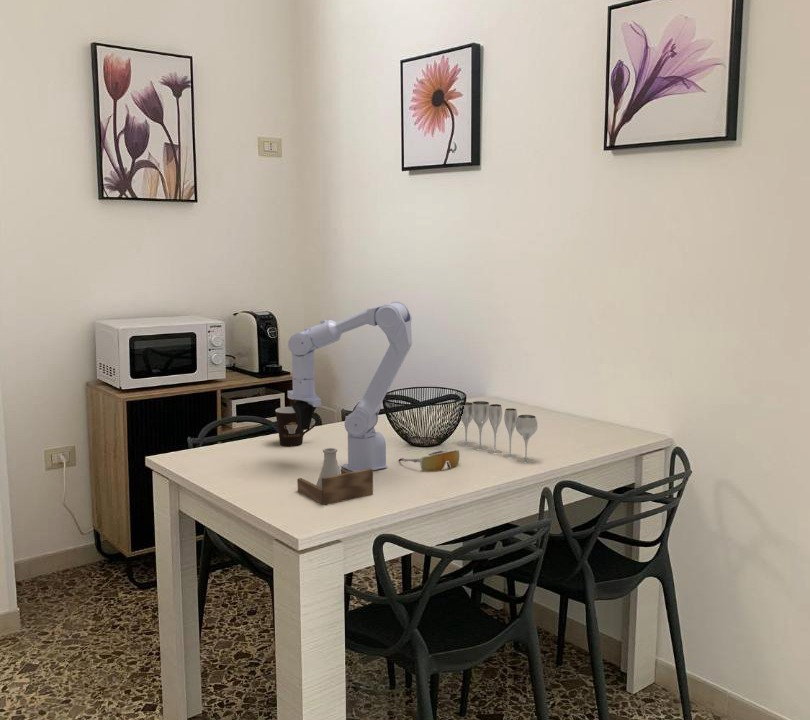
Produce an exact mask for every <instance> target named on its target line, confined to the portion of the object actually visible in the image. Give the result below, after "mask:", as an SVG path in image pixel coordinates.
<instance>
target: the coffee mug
mask: <svg viewBox="0 0 810 720" xmlns="http://www.w3.org/2000/svg"><path fill="white" fill-rule="evenodd" d="M313 416H314V417H316V421H315V423H314V424H313V425H311V427H310V428H309V429H308V430H301V429H300V427H299V424H298V420H297V416H296V414H295V411H294V409H293V408H292V406H285V407H284V406H283V407H278V408H276V409H275V418H276V423H277V424H276V425H277V431H278V439H279V445H280V446H282V447H290V448H291V447H298V446H299V447H300V446H302V445H303V441H304V436H305V434H307V433H308V432H309V431H311V430H312V429H314V428H315V427H316V426H317V425H318V423H319V419H320V418H319V416H318V414H317V413H315V412H314V413H313Z"/></svg>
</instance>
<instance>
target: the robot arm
mask: <svg viewBox="0 0 810 720" xmlns="http://www.w3.org/2000/svg"><path fill="white" fill-rule="evenodd" d="M412 319H413V318H412V315H411V313H410V311H409V308H408V307H407V305H405V304H404V303H403V302H401V301H392V302H391V303H387V304H382V305H378V306H373V307H370V308H366V309H364V310H361V311H359V312H358V313H356V314H353V315H351V316H348V317H346V318H343V319H342V320H340V321H335V320H332V319H329V320H328V319H323V320H320V323H319V324H317V325H314V326H312V327H309V326H308V327H305V328H304V331H300V332H295V333H294V334H293V335H291V336H290V338H289V339H288V343H287V344H288V345H287V346H288V349H289V351H290V352H291V371H292V372H291V373H292V374H291V375H292V377H291V378H292V390H287V398H288V399H289V400H295V402H291V403H290V407H292V408H293V409H294V411H295V414H296V416H297V420H298V424H299V427H300V429H301V430H304V431H306V430H308V429H309V428H311V427H310V426H311V423H312V418H313V416H314V415H313V413H315V411H316V409H317V407H318V408H319V407H322V398H320V397H319V396H318V395H317V394H316V384H315V383H316V381H315V380H316V379H315V378H316V377H315V351H316V350H319V349H321V348H324V347H326V346H328V345H331V344H334V343H335V342H338V341H340V338H341V337H342V335H343V333H347V332H350V331H352V330H354V329H358V328H360V327H363V326H365V325H369V326H373V327H376V326H378V327H379V328H380V330H381V331H382V332H383V333H384V334H385V336H386V338H387V340H388V342H389V346H388V347H387V349H386V352H385V354H384V356H383V357H382V360H381V361H380V363H379V366H378V367H377V370H376V371H375V373H374V375H373V377H372V379H371V381H370V383H369V385H368V387H367V389H366V391H365V393H364V394H363V397H362V398H361V399H360V401H359V402H358V403H357V405H356V406H355V408H354V410H353V411H352V412H351V413H349V414H348V415H347V416H346V417H345V420H344V428H345V431H346V432H347V463H345V464H341V468H343V469H345V470H347V471H349V472H354V471H359V470H364V469H369V468H371V469H373V471H377V470H383V469H387V468H389V466H388V465H387V445H386V443H387V442H386V438H385V437H384V435H383V433H381V432H379V431H376V429H375V426H376V425H377V424H378V422H379V421H378V420H379V412H380V410H381V406H382V403H383V401H384V399H385V397H386V396H387V393H388V391H389V390H390V388H391V385H392V383H393V382H394V380H395V379H396V376H397V374H398V372H399V371H400V369H401V366H402V365H403V363H404V361H405V358H406V357H407V355H408V353H409V351H410V349H411V348H412V344H413V337H412V335H413V334H412Z"/></svg>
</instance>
